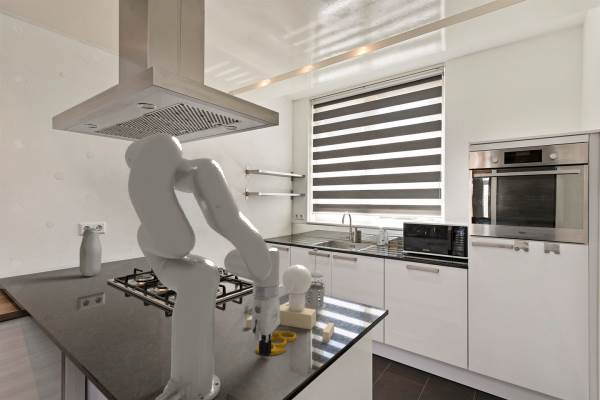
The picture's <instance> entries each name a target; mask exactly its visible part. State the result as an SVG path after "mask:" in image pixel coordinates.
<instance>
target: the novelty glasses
mask: <svg viewBox="0 0 600 400" xmlns="http://www.w3.org/2000/svg"><path fill="white" fill-rule="evenodd" d="M286 336H291V337H286ZM270 340H271V354H270V355H269V356H277V355H281V354H283V353H285V352H286V351H287V349H286V348H285V347H286V346H287V344H288V343H290V342H295V341H296V340H297V334H296V332H293V331H290V330H283V331H281V330H280V331H279V330H278V331H275V332H272V339H270ZM275 341H280V342H281V343H273V342H275ZM255 351H256V352H255V353H256V354H257V355H260V354H259V344H258V345H257V346H256V348H255ZM260 356H261V355H260Z"/></svg>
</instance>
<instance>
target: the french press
mask: <svg viewBox="0 0 600 400" xmlns="http://www.w3.org/2000/svg"><path fill="white" fill-rule="evenodd" d="M312 251H313V252H315V253H314V255H315V256H314V269H313V270H309V271H310V273H311V277H312V279H317V278H318V280H317V281H316V280H314V281H313V280H312V283H311V286H310V288H309V289H308V290H307V291H306V292H305V308H308V309H315V310H316V311H321V310H324V309H325V308H327V307H326V305H325V304H324V303H325V301H324V297H325V296H324V295H325V293H326V292H325V291H326V289H325V283H324V280H323V279H321V280H319V278H323V277H324V276H325V274H324V273H323V272H322V271H320V270H316V267H317V266H316V263H317V262H316V261H317V260H316V259H317V257H316V255H317V252H318V251H319V250H318V248H313V250H312Z"/></svg>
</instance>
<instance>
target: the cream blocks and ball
mask: <svg viewBox="0 0 600 400" xmlns="http://www.w3.org/2000/svg"><path fill="white" fill-rule="evenodd" d="M310 271H311V270H309V269H308V268H307V267H306V266H305V265H302V264H297V263H296V264H292V265H290V266H288V267H287V268H286V269H285V270H284V272H283V274H282V279H281V281H282V285H283V287H284V289H285V290H286V292H288V305H284V304H280V324H279V325H281V326H288V327H293V328H300V329H306V330H312V329H313V327H314V326H315V325H316V324H317V310H315V309H308V308H305V303H306V293H307V290H308V289H309V288H310V286H311V283H312V281H313V277H311V273H310ZM245 320H246V321H245V328H246V329H252V314H251V315H250V316H249V317H247V318H246V319H245ZM334 333H335V323H334V322H327V324H326V326H325V327H324V328H323V330H322V342H326V343H329V342H330V340H331V338H332V337H333V334H334Z"/></svg>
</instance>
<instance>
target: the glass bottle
mask: <svg viewBox="0 0 600 400" xmlns="http://www.w3.org/2000/svg"><path fill="white" fill-rule="evenodd" d="M99 233H100V232H99V230H98V229H97V228H95V227H87V228H85V229H84V230H83V232H82V239H81V243H80V247H79V273H81V275H82V276H83V277H94V276H96V275H98V273H99V272H100V271H101V268H102V267H101V266H102V252H103V251H102V248H103V247H102V243H101V239H100V234H99Z"/></svg>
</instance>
